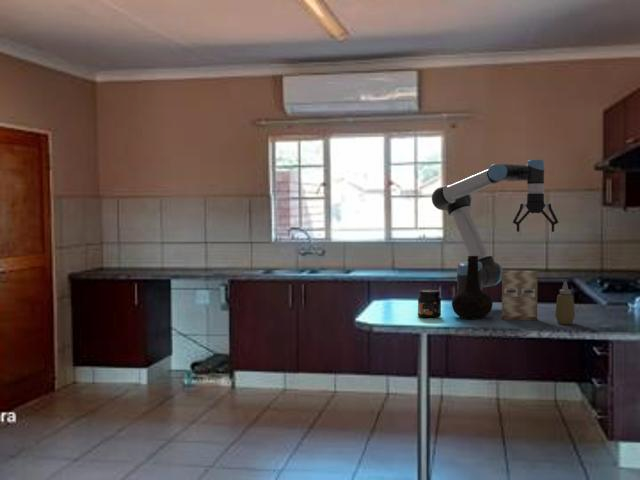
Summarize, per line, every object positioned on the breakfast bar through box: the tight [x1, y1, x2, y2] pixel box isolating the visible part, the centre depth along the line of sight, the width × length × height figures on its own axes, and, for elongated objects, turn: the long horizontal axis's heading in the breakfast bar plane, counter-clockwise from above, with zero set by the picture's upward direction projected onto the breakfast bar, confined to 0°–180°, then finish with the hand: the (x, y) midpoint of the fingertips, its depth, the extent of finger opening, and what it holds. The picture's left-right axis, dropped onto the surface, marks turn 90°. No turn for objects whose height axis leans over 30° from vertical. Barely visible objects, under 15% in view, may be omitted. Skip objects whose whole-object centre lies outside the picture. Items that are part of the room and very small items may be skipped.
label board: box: [501, 270, 538, 321], centre depth 334 cm, size 15×6×22 cm, turn 77°
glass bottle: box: [451, 255, 494, 320], centre depth 339 cm, size 18×18×28 cm
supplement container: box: [417, 289, 442, 319], centre depth 342 cm, size 10×10×12 cm
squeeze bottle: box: [554, 280, 576, 325], centre depth 321 cm, size 8×8×18 cm
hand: (535, 239), depth 350 cm, fingers open, 13 cm apart
